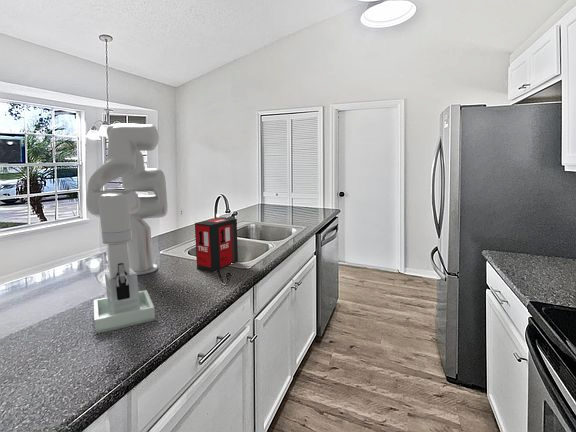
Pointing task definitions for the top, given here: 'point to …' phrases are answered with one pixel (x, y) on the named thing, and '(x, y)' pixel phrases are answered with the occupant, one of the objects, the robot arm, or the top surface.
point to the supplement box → (125, 304)
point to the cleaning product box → (216, 243)
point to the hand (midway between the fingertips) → (122, 292)
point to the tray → (122, 314)
